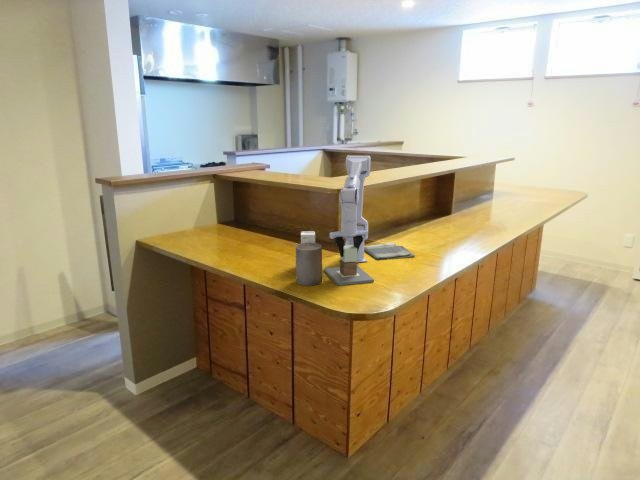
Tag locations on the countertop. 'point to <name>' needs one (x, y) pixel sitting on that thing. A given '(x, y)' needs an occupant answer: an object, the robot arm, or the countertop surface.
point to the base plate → (347, 280)
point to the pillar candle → (309, 264)
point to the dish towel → (388, 251)
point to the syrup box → (307, 237)
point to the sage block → (349, 254)
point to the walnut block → (348, 268)
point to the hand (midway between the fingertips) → (348, 255)
